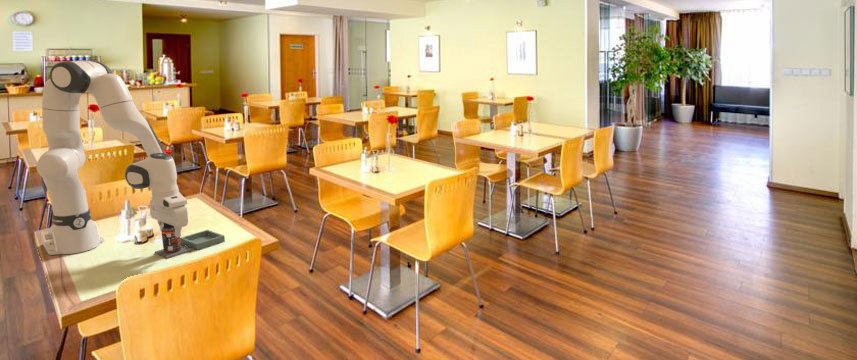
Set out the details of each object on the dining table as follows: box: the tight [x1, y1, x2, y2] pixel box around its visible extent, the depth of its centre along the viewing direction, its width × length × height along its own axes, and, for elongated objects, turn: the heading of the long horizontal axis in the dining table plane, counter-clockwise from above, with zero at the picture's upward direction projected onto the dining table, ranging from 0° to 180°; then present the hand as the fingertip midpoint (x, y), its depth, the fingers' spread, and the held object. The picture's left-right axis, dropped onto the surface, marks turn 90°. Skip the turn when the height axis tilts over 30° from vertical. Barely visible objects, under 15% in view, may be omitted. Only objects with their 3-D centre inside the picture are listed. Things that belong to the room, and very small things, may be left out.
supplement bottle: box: [160, 222, 182, 253], centre depth 195 cm, size 6×6×11 cm
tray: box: [180, 229, 226, 251], centre depth 206 cm, size 12×12×2 cm
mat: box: [154, 245, 192, 260], centre depth 196 cm, size 9×9×1 cm
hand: (170, 233), depth 195 cm, fingers open, 8 cm apart
